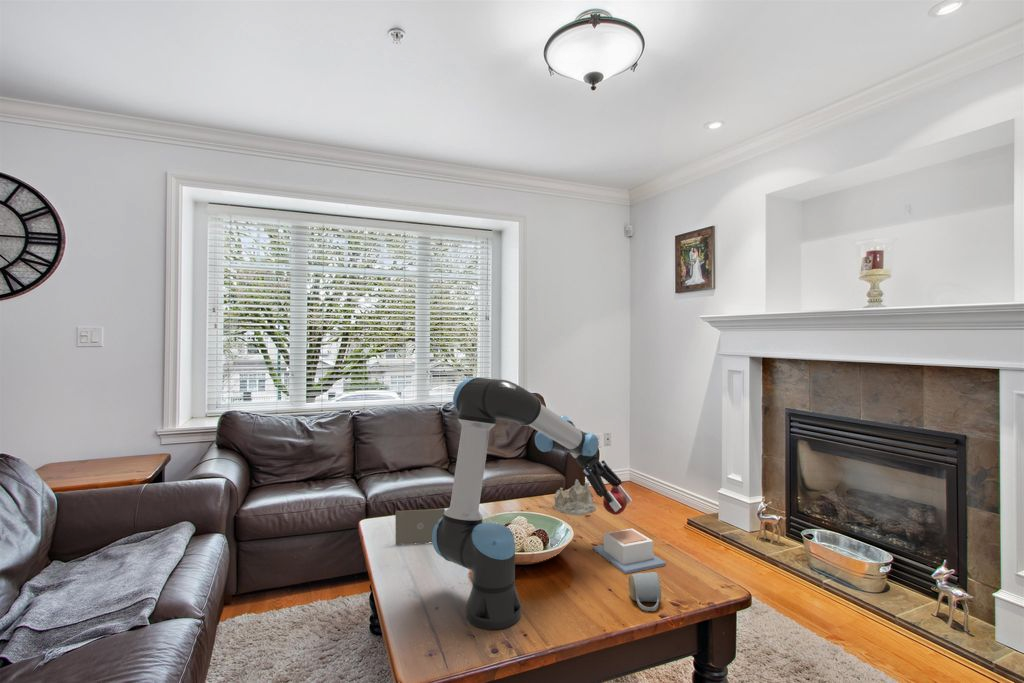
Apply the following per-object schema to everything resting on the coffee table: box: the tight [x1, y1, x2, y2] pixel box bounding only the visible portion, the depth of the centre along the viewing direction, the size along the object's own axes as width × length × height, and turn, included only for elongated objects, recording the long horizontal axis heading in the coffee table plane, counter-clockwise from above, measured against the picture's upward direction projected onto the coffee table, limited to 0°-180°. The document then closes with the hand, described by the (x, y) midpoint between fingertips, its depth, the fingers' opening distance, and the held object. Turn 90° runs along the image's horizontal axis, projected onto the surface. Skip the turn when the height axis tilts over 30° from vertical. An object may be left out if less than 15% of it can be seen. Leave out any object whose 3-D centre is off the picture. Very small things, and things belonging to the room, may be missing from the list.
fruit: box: [602, 486, 628, 516], centre depth 175 cm, size 8×8×10 cm
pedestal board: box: [592, 528, 667, 575], centre depth 173 cm, size 20×16×7 cm
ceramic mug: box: [628, 571, 662, 612], centre depth 143 cm, size 11×8×8 cm
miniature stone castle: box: [553, 479, 597, 516], centre depth 222 cm, size 16×16×15 cm
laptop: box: [394, 508, 446, 546], centre depth 190 cm, size 18×12×13 cm
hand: (623, 506), depth 173 cm, fingers closed on fruit, 8 cm apart
